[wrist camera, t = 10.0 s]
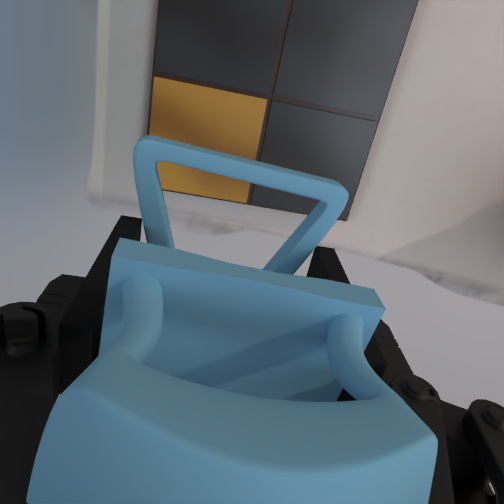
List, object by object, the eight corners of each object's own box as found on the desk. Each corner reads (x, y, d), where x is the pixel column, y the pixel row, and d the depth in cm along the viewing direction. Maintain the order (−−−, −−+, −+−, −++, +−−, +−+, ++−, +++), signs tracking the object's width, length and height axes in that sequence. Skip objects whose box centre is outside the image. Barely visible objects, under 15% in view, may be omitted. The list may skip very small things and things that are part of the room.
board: (166, -71, 32) (164, -75, 31) (417, -9, 34) (423, -10, 33) (144, 183, 41) (142, 187, 40) (344, 217, 43) (347, 222, 42)
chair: (111, 319, 18) (-29, 714, 8) (139, 129, 15) (-52, 401, 4) (281, 347, 20) (352, 714, 9) (345, 181, 16) (582, 479, 6)
